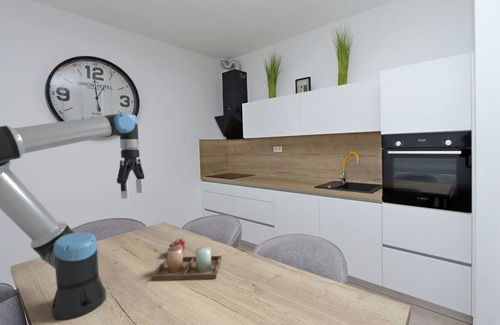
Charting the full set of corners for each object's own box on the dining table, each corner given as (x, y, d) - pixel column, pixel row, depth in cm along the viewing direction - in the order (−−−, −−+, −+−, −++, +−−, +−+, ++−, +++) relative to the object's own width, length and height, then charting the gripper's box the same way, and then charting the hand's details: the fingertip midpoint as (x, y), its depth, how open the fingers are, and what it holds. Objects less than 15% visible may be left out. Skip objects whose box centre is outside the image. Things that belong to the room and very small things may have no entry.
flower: (192, 247, 124) (184, 234, 125) (186, 251, 115) (177, 237, 116) (177, 258, 124) (169, 245, 125) (169, 263, 114) (160, 249, 116)
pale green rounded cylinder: (210, 272, 100) (209, 253, 99) (194, 272, 100) (193, 253, 99) (212, 264, 106) (211, 247, 106) (198, 265, 106) (197, 247, 106)
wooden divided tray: (216, 280, 95) (215, 274, 94) (152, 282, 95) (151, 276, 95) (221, 260, 111) (221, 255, 111) (167, 262, 112) (166, 257, 112)
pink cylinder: (180, 272, 100) (180, 251, 100) (166, 273, 100) (165, 251, 100) (184, 265, 106) (183, 245, 106) (170, 265, 106) (170, 245, 106)
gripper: (123, 148, 97) (126, 200, 98) (149, 148, 122) (152, 190, 123) (105, 149, 97) (108, 201, 98) (135, 149, 122) (137, 190, 123)
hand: (132, 195), depth 111 cm, fingers open, 13 cm apart
